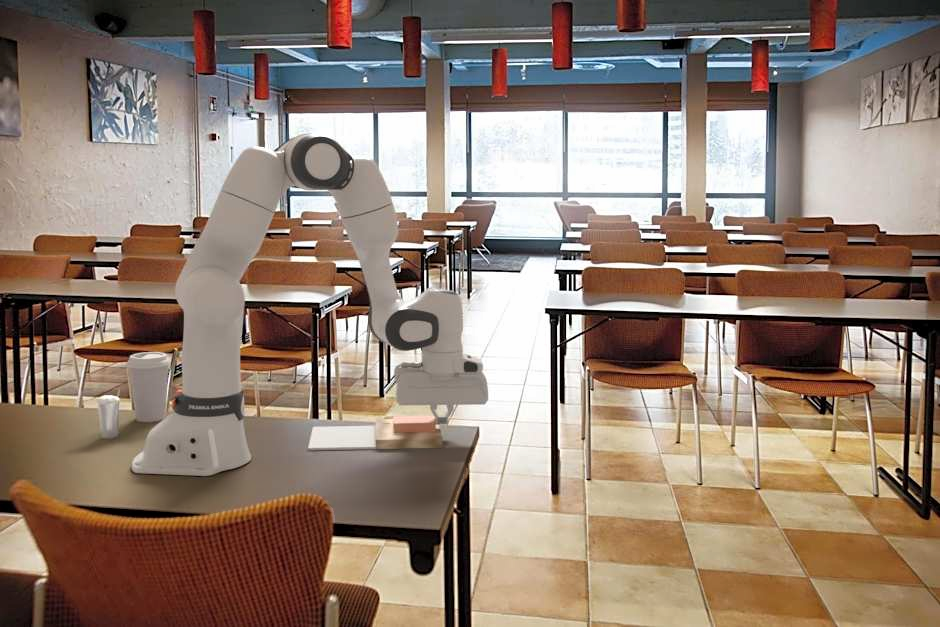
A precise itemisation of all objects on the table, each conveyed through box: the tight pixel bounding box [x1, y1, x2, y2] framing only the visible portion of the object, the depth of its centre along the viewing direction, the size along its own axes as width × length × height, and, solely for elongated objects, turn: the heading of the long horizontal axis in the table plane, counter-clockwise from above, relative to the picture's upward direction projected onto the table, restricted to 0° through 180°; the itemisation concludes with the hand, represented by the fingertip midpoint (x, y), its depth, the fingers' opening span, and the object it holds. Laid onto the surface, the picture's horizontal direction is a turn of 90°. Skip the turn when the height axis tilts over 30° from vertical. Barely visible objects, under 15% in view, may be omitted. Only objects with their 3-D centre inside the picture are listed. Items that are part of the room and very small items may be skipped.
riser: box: [375, 418, 443, 450], centre depth 199 cm, size 14×16×2 cm
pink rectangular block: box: [392, 415, 436, 433], centre depth 199 cm, size 9×6×2 cm, turn 96°
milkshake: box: [96, 388, 121, 440], centre depth 196 cm, size 5×5×10 cm
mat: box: [307, 425, 377, 451], centre depth 198 cm, size 14×16×1 cm
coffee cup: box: [126, 351, 171, 423], centre depth 210 cm, size 10×10×15 cm
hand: (441, 424), depth 199 cm, fingers closed
